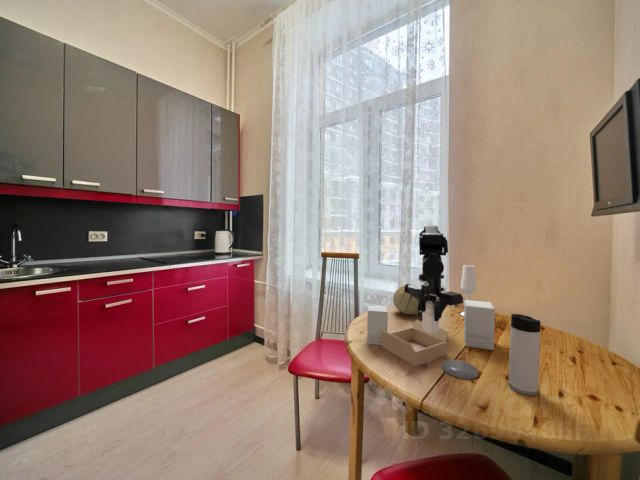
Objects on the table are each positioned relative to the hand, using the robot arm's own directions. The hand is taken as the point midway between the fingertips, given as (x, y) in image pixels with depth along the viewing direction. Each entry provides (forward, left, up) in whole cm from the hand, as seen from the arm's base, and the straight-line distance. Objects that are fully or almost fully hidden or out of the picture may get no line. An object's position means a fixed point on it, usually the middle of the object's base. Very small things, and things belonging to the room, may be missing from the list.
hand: (430, 319), depth 87 cm
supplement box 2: (-25, +1, -14) cm, 28 cm away
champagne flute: (-52, -20, -13) cm, 57 cm away
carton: (+1, -6, -13) cm, 15 cm away
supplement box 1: (+6, -19, -14) cm, 24 cm away
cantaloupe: (-28, -35, -13) cm, 47 cm away
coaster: (-2, +9, -13) cm, 16 cm away
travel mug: (-8, +23, -13) cm, 28 cm away
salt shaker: (0, 0, -4) cm, 4 cm away
